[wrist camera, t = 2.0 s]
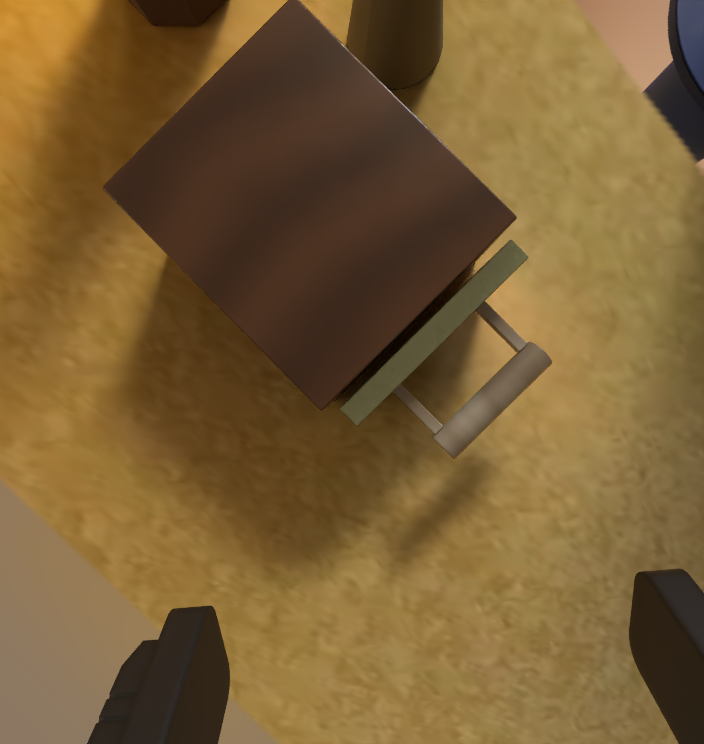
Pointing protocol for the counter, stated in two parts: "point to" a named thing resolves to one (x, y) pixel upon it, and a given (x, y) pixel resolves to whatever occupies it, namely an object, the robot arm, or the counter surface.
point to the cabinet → (309, 203)
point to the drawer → (437, 330)
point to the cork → (397, 38)
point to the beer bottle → (176, 11)
